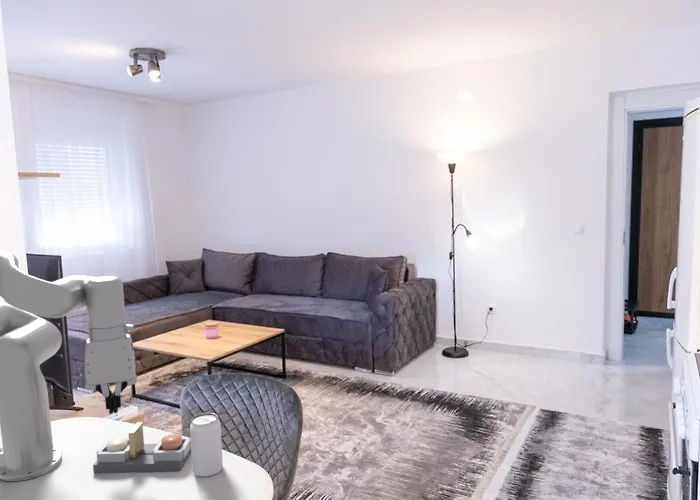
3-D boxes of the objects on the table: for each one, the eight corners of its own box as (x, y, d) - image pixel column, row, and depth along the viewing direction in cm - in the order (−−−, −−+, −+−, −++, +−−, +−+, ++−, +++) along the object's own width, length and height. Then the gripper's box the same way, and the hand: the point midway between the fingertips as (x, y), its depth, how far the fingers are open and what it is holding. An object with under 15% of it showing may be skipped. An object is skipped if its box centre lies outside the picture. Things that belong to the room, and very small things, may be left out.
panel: (93, 473, 116) (92, 456, 115) (111, 452, 125) (110, 436, 124) (182, 471, 116) (181, 454, 115) (194, 450, 125) (193, 434, 124)
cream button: (103, 455, 118) (102, 447, 117) (112, 446, 122) (111, 438, 122) (123, 455, 118) (122, 447, 117) (131, 445, 122) (130, 437, 122)
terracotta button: (159, 451, 118) (158, 443, 117) (165, 442, 122) (165, 434, 122) (178, 451, 118) (178, 443, 117) (184, 441, 122) (184, 433, 122)
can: (214, 479, 113) (211, 426, 111) (187, 476, 114) (183, 424, 112) (227, 463, 119) (225, 413, 117) (201, 461, 120) (198, 411, 119)
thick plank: (130, 458, 118) (128, 432, 117) (139, 447, 122) (137, 422, 122) (135, 458, 118) (133, 432, 117) (144, 446, 122) (142, 422, 122)
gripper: (144, 324, 122) (149, 399, 125) (73, 331, 117) (79, 409, 120) (143, 333, 115) (148, 412, 118) (67, 340, 110) (74, 423, 113)
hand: (113, 411), depth 119 cm, fingers closed
